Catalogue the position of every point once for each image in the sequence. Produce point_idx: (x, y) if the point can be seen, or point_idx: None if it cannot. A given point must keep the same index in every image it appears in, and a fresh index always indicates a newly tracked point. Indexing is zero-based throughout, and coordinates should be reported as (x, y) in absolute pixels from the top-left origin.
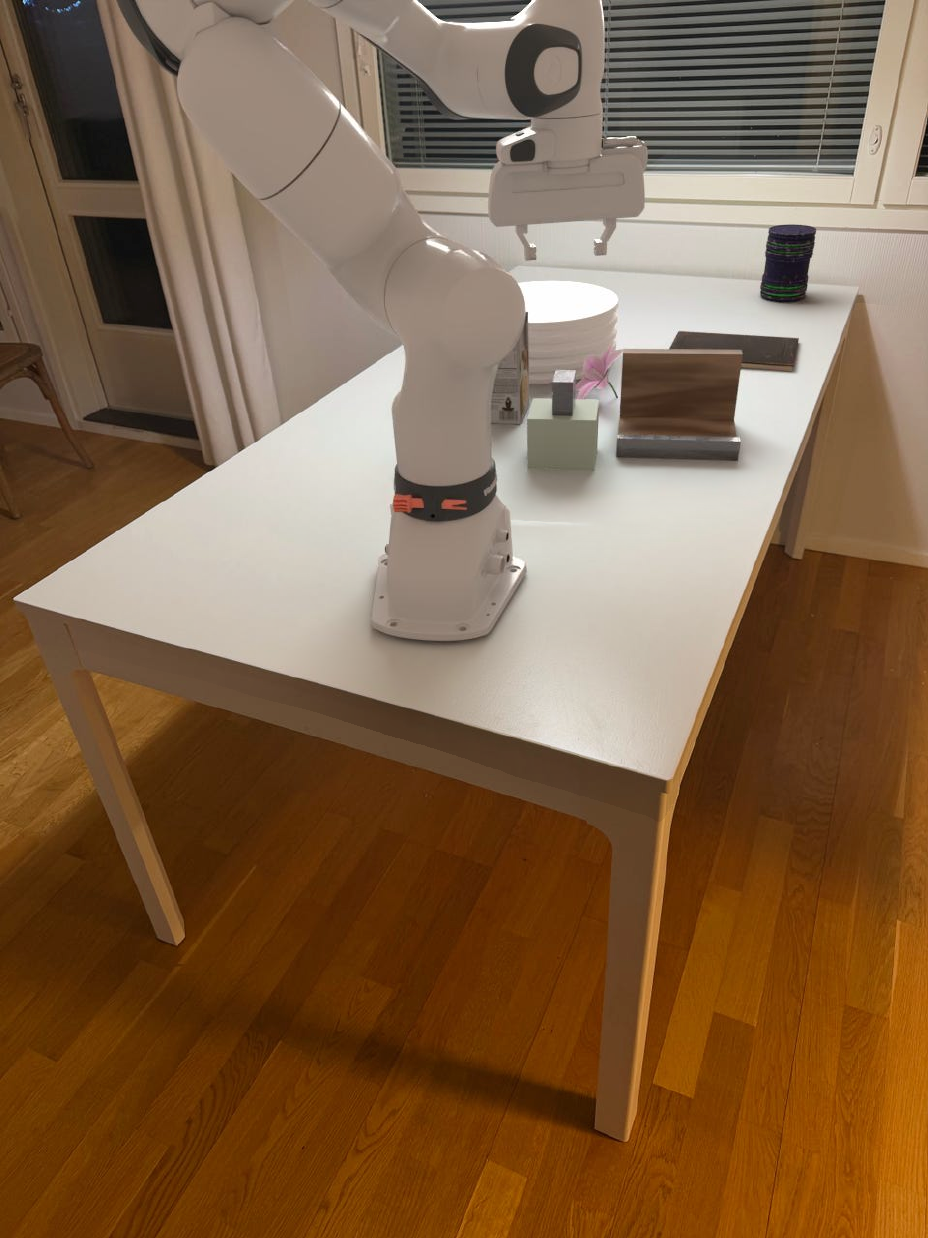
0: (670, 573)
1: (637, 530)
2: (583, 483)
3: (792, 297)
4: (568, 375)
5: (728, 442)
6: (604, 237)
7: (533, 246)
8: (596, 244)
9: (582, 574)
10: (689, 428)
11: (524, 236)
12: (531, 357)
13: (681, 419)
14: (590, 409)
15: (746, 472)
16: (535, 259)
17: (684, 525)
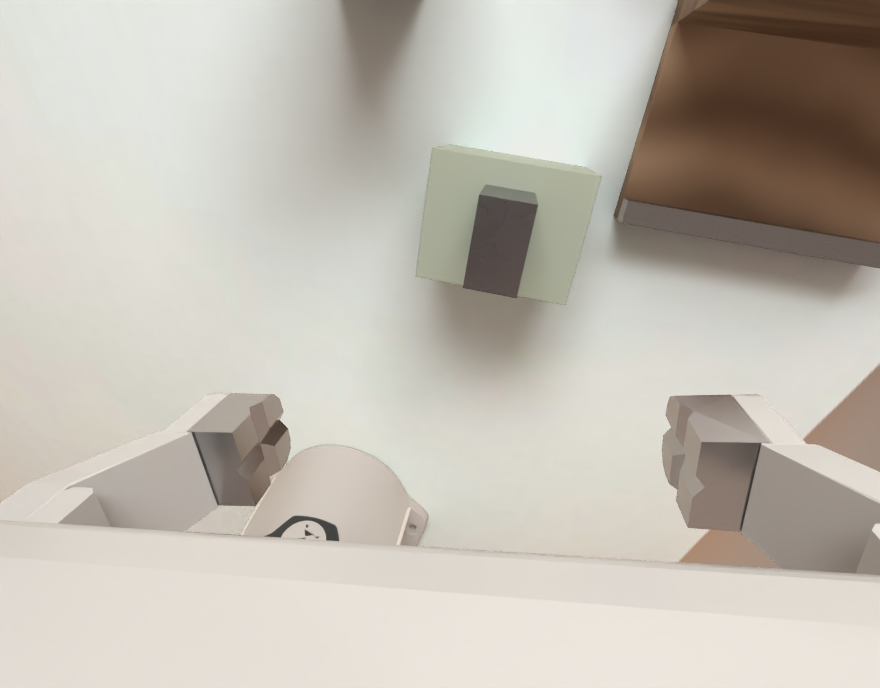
0: (593, 546)
1: (580, 461)
2: (528, 318)
3: None
4: (510, 245)
5: (865, 265)
6: (773, 553)
7: (237, 496)
8: (684, 514)
9: (491, 532)
10: (831, 123)
11: (133, 513)
12: None
13: (841, 55)
14: (565, 241)
15: (849, 312)
16: (286, 448)
17: (652, 459)
